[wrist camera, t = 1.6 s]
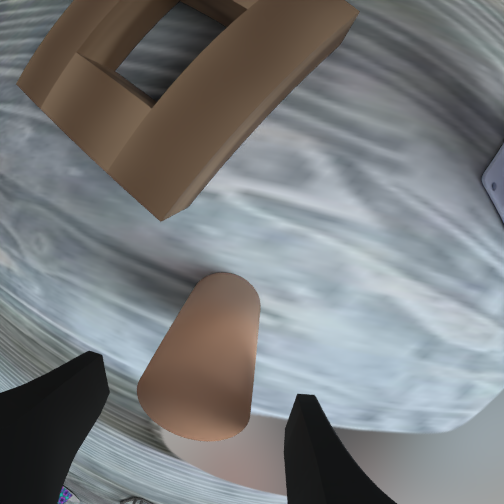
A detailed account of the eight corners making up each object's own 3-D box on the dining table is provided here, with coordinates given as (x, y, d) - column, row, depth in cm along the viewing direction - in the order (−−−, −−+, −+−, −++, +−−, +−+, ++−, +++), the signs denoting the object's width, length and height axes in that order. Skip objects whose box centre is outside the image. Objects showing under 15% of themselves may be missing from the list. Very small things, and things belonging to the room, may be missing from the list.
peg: (275, 304, 16) (275, 410, 9) (229, 346, 17) (205, 451, 10) (219, 257, 16) (174, 342, 8) (177, 305, 17) (120, 398, 9)
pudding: (25, 466, 32) (15, 481, 27) (39, 464, 30) (28, 482, 25) (68, 499, 35) (61, 514, 30) (90, 501, 32) (81, 520, 27)
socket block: (340, 44, 12) (359, 11, 8) (188, 207, 15) (160, 221, 11) (181, -45, 10) (163, -79, 6) (57, 92, 13) (16, 84, 9)
